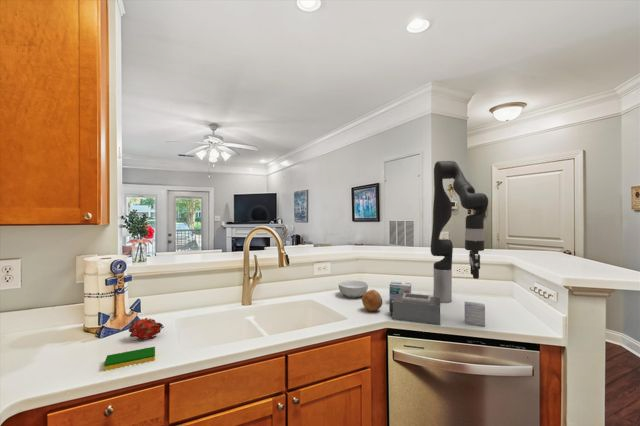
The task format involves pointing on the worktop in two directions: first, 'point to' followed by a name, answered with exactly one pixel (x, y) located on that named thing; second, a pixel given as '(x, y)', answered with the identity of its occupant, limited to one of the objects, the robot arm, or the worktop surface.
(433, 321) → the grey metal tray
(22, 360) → the worktop surface
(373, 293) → the onion
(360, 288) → the cereal bowl
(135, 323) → the dragon fruit
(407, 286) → the light bulb box
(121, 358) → the dish sponge
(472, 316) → the medicine box
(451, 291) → the robot arm
